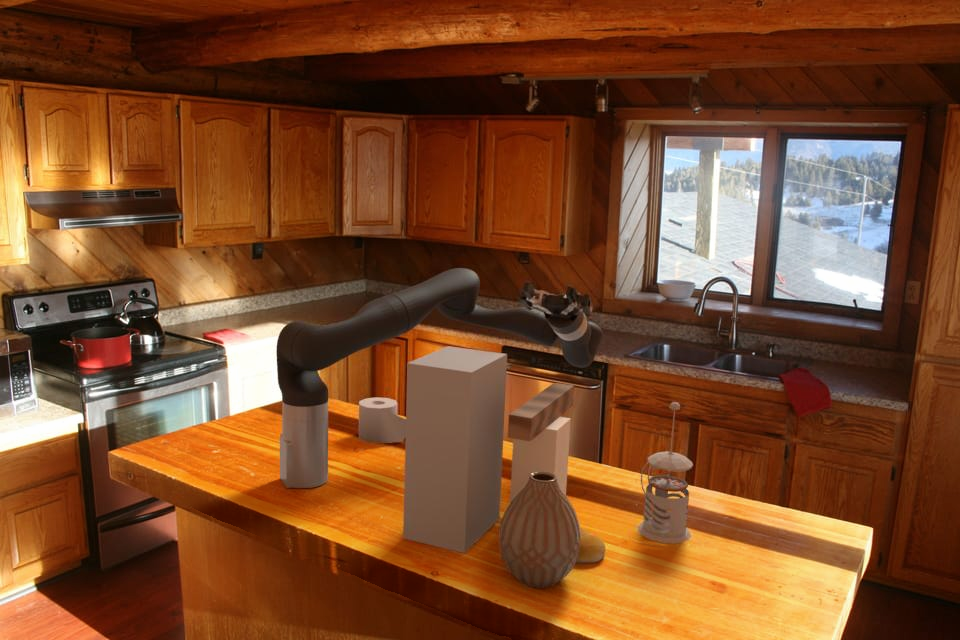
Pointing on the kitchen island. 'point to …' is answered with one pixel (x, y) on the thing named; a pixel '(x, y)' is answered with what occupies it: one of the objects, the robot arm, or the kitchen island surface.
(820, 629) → the kitchen island surface
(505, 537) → the vase
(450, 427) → the tall white pillar
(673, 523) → the french press
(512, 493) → the post
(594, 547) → the bread roll
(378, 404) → the toilet tissue
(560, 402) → the walnut bar
